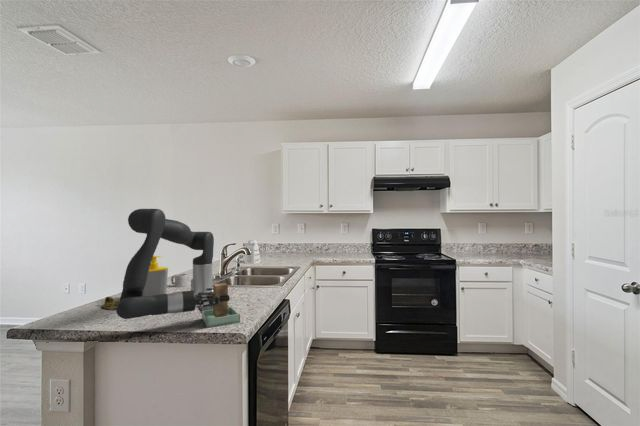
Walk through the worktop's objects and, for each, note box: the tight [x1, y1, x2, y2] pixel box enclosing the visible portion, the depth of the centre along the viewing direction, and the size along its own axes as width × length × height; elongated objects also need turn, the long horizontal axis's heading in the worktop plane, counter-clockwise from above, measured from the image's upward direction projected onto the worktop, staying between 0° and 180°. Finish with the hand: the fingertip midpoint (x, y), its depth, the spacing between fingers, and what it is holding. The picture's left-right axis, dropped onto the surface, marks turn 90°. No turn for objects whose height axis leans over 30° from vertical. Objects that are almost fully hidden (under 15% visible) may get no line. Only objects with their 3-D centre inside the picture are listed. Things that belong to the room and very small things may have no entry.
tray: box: [201, 306, 241, 329], centre depth 124 cm, size 12×12×3 cm
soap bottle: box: [143, 255, 169, 296], centre depth 160 cm, size 13×13×21 cm
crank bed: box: [197, 287, 230, 312], centre depth 141 cm, size 11×16×8 cm
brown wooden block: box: [212, 282, 229, 318], centre depth 124 cm, size 4×4×12 cm
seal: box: [100, 296, 120, 311], centre depth 144 cm, size 9×5×15 cm
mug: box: [170, 273, 188, 288], centre depth 189 cm, size 10×7×7 cm
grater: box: [244, 240, 262, 265], centre depth 286 cm, size 10×10×20 cm
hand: (227, 296), depth 125 cm, fingers closed on brown wooden block, 4 cm apart
